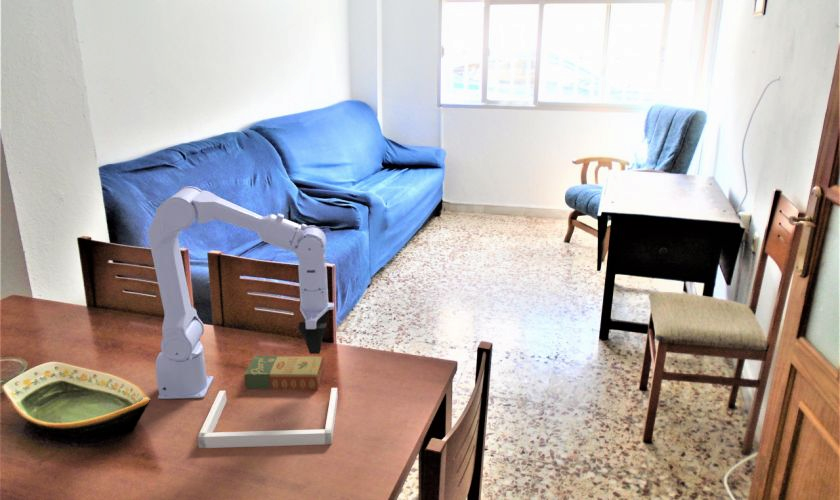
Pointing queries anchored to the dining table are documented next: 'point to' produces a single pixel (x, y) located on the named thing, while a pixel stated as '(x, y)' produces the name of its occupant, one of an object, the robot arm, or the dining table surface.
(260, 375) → the carton
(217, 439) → the bay
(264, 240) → the robot arm
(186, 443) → the dining table surface
